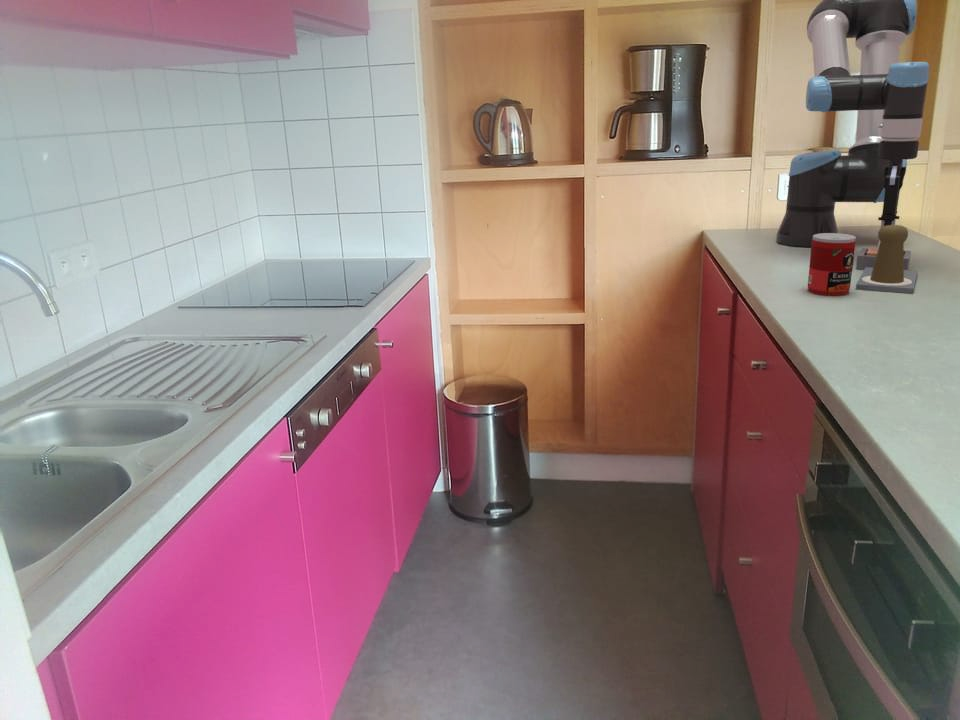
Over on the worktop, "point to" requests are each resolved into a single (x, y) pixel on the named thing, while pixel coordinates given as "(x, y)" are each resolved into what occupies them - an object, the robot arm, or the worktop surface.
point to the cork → (890, 255)
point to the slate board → (903, 287)
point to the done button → (872, 252)
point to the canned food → (831, 263)
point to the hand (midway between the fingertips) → (884, 249)
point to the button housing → (870, 260)
